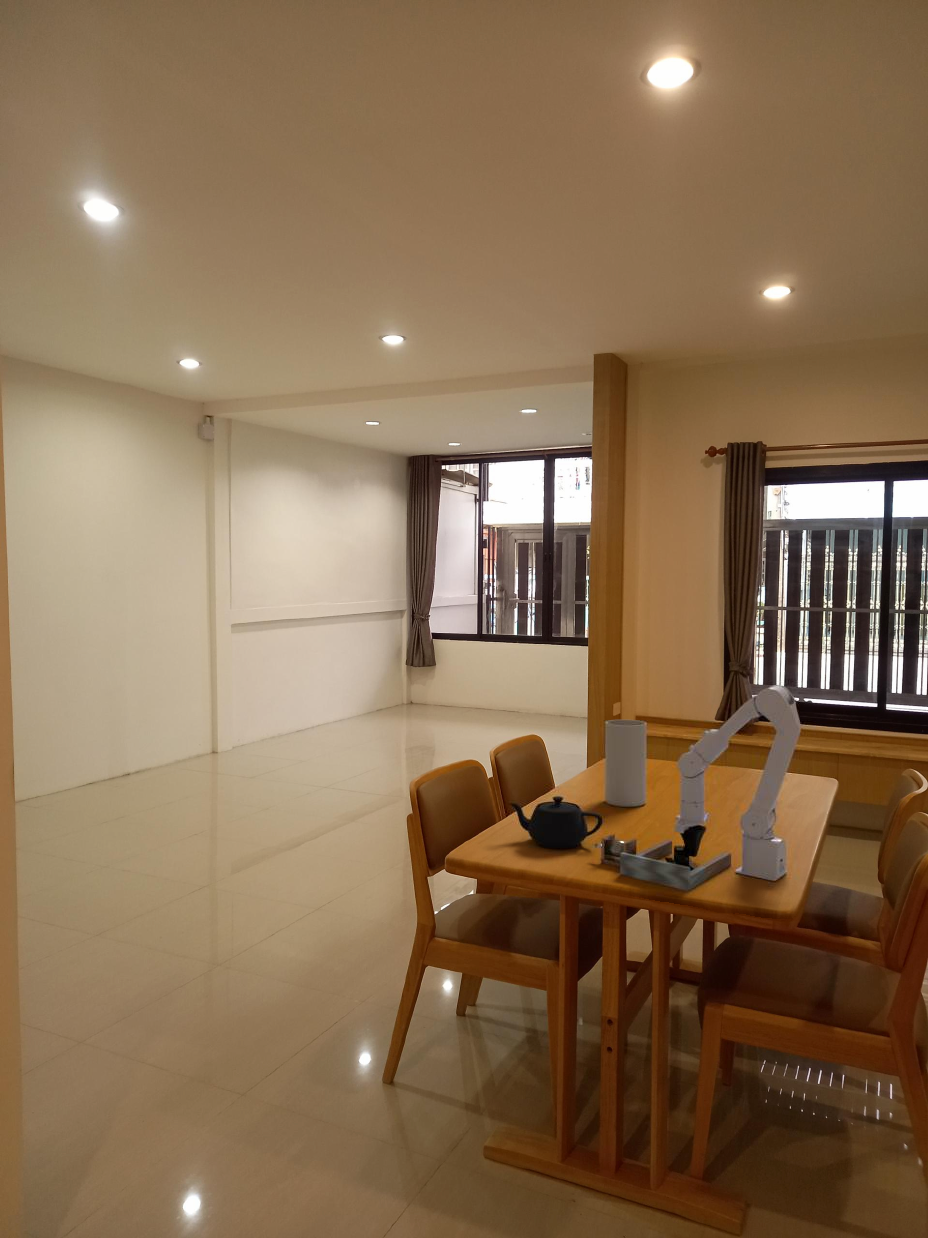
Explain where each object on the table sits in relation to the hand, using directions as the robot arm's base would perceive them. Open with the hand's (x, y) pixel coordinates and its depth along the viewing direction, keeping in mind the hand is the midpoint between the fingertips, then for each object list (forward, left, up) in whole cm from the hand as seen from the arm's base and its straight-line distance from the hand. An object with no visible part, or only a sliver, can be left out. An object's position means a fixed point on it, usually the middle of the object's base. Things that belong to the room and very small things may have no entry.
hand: (691, 855), depth 212 cm
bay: (0, +8, -1) cm, 8 cm away
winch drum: (+14, +13, -1) cm, 19 cm away
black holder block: (+1, +4, -2) cm, 4 cm away
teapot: (+34, +9, -2) cm, 36 cm away
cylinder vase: (+41, -40, -2) cm, 58 cm away
